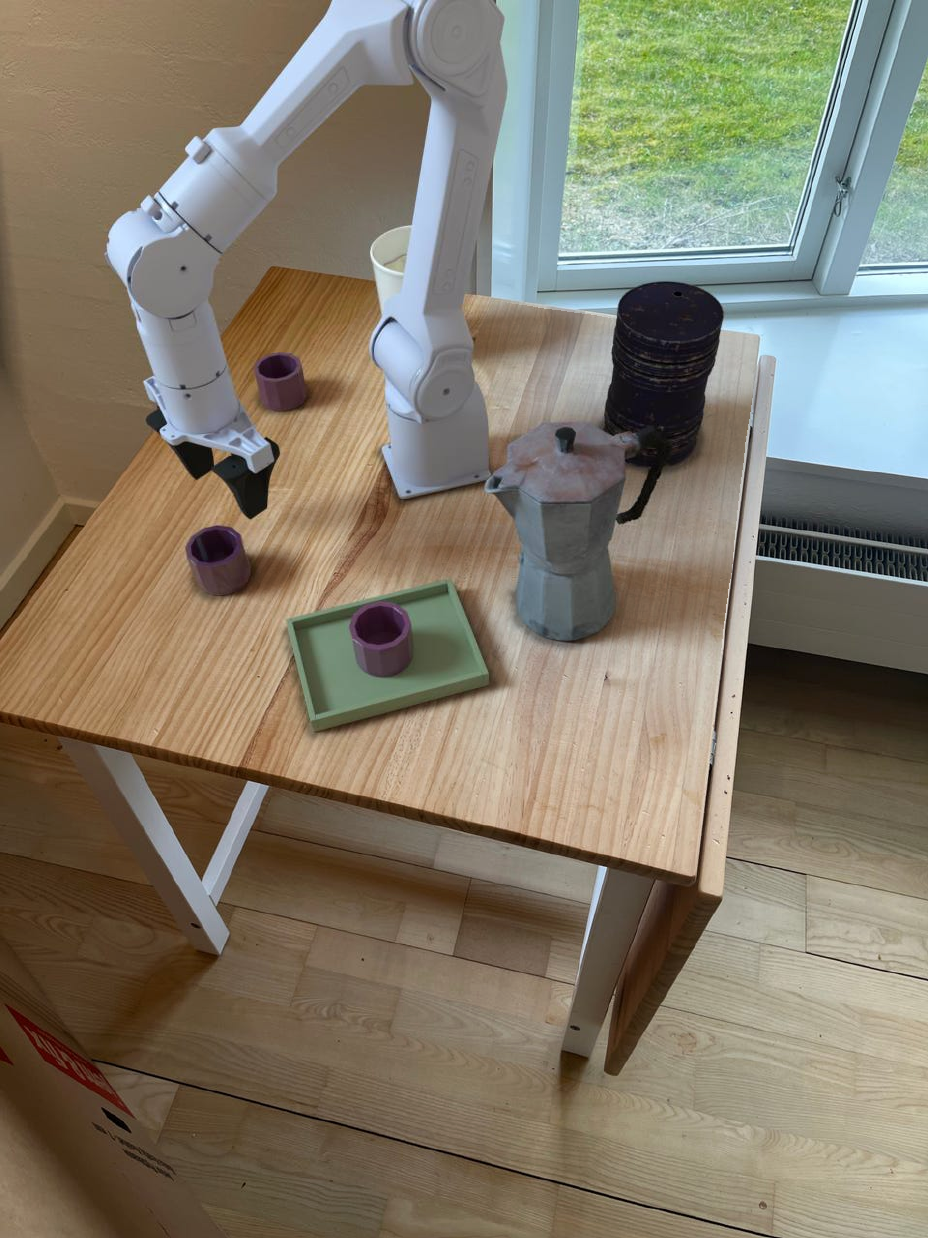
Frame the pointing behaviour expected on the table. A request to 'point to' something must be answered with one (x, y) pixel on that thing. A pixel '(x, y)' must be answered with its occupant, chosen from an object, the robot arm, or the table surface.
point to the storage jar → (662, 364)
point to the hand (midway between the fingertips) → (229, 492)
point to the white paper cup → (390, 262)
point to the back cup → (280, 381)
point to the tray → (351, 694)
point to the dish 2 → (382, 639)
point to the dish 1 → (218, 560)
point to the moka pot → (570, 519)
